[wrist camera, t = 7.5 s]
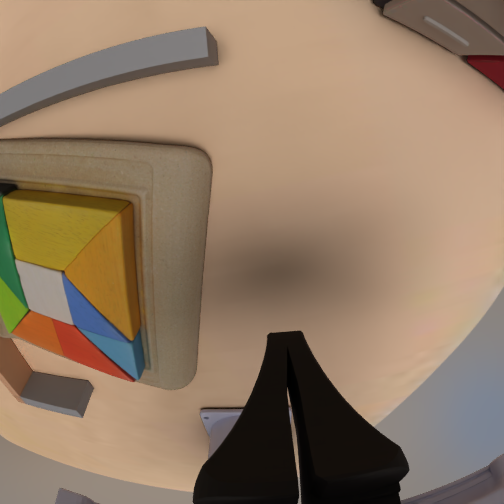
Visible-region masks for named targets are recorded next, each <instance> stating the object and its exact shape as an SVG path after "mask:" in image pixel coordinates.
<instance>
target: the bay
mask: <svg viewBox="0 0 504 504" xmlns="http://www.w3.org/2000/svg"><path fill="white" fill-rule="evenodd" d="M214 65H218V54H217V42H216V40H215V39H214V37H213V36H212V35H211V33H210V32H209V30H208V29H207V28H206V27H199V28H193V29H187V30H181V31H175V32H170V33H165V34H161V35H156V36H152V37H147V38H143V39H139V40H135V41H131V42H128V43H124V44H121V45H117V46H114V47H110V48H107V49H104V50H101V51H98V52H95V53H92V54H89V55H86V56H83V57H81V58H78V59H75V60H72V61H70V62H67V63H65V64H62V65H60V66H57V67H55V68H53V69H50V70H48V71H46V72H43V73H41V74H39V75H37V76H35V77H33V78H30V79H28V80H26V81H24V82H22V83H20V84H18V85H16V86H14V87H12V88H11V89H9V90H7V91H5V92H3V93H1V94H0V127H1V126H3V125H5V124H7V123H9V122H11V121H14V120H16V119H18V118H20V117H23V116H25V115H27V114H30V113H32V112H34V111H37V110H39V109H42V108H44V107H47V106H50V105H52V104H55V103H58V102H60V101H63V100H66V99H69V98H72V97H75V96H78V95H81V94H84V93H87V92H90V91H94V90H97V89H100V88H104V87H107V86H111V85H115V84H119V83H122V82H126V81H130V80H135V79H139V78H143V77H148V76H153V75H158V74H163V73H168V72H173V71H179V70H185V69H192V68H198V67H206V66H214ZM0 380H1V381H2V382H3V384H4V385H5V386H6V387H7V389H8V390H9V391H10V392H11V393H12V394H13V396H14V397H15V398H16V399H17V400H18V401H19V402H21V403H25V404H28V405H31V406H35V407H39V408H42V409H46V410H50V411H54V412H58V413H62V414H67V415H71V416H76V417H80V418H83V416H84V413H85V410H86V408H87V405H88V402H89V400H90V397H91V394H92V392H93V389H94V388H93V387H92V385H91V384H90V382H89V381H87V380H80V379H73V378H66V377H60V376H54V375H49V374H43V373H38V372H33V371H32V370H31V368H30V367H29V365H28V364H27V363H26V361H25V360H24V358H23V357H22V355H21V354H20V352H19V351H18V349H17V348H16V346H15V345H14V343H13V341H12V340H11V338H3V337H0Z"/></svg>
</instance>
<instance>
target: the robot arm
mask: <svg viewBox="0 0 504 504" xmlns="http://www.w3.org/2000/svg"><path fill="white" fill-rule="evenodd" d="M287 387H288V392H289V397H290V402H291V408H292V411H291V408H290V407H289V405H288V397H287ZM292 413H293V418H294V423H295V428H296V435H297V444H298V456H299V470H300V484H301V485H300V486H301V504H504V454H502V455H500V456H499V457H497V458H496V459H495V460H494V461H492V462H491V463H490V464H489V465H488V466H486V467H484V468H482V469H480V470H478V471H476V472H474V473H472V474H470V475H468V476H465V477H463V478H461V479H459V480H456V481H454V482H452V483H449V484H447V485H444V486H442V487H439V488H437V489H434V490H431V491H428V492H426V493H423V494H420V495H417V496H414V497H411V498H408V499H405V500H401V501H400V497H399V492H400V490H401V489H400V485H399V481H401V480H402V479H403V478H404V477H405V476H406V474H407V473H408V472H409V465H408V462H407V460H406V457H405V456H404V453H403V451H402V449H401V448H400V446H398V445H397V444H395V443H394V442H392V441H391V440H390V439H388V438H387V437H386V436H384V435H383V434H381V433H380V432H379V431H378V430H376V429H375V428H374V427H373V426H372V425H370V424H369V423H368V422H367V421H366V420H365V419H364V418H363V417H362V416H361V415H360V414H358V413H357V412H356V411H355V410H354V409H353V408H352V406H351V405H350V404H349V403H348V402H347V401H346V400H345V399H344V398H343V397H342V395H341V394H340V393H339V392H338V391H337V389H336V388H335V387H334V385H333V384H332V383H331V381H330V380H329V379H328V377H327V376H326V374H325V373H324V371H323V370H322V368H321V367H320V365H319V364H318V362H317V360H316V359H315V357H314V355H313V354H312V352H311V350H310V348H309V346H308V344H307V342H306V340H305V337H304V335H303V332H301V331H290V332H277V333H269V334H268V335H267V346H266V352H265V356H264V360H263V363H262V366H261V370H260V373H259V376H258V378H257V381H256V383H255V386H254V388H253V391H252V393H251V395H250V397H249V399H248V401H247V403H246V405H245V407H244V409H203V410H201V411H200V416H201V419H202V421H203V423H204V426H205V428H206V430H207V432H208V435H209V437H210V443H209V454H208V460H207V461H206V462H205V464H204V465H203V466H202V468H201V470H200V472H199V475H198V477H197V480H196V483H195V487H194V493H193V503H194V504H297V503H298V499H299V488H298V477H297V470H296V462H295V455H294V447H293V439H292V431H291V414H292ZM55 504H99V503H95V502H94V501H93V500H91V499H90V498H88V497H86V496H83V495H81V494H78V493H74V492H72V491H69V490H66V489H63V488H59V491H58V495H57V498H56V502H55Z"/></svg>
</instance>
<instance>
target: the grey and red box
mask: <svg viewBox="0 0 504 504" xmlns="http://www.w3.org/2000/svg"><path fill="white" fill-rule="evenodd" d="M373 2H374V3H375V4H376V5H377V6H379V7H381V8H383V9H384V10H383V14H384V15H385V16H387V17H389V18H391V19H393V20H395V21H398V22H400V23H402V24H404V25H406V26H408V27H410V28H411V29H413V30H415V31H417V32H419V33H421V34H423V35H424V36H426V37H428V38H430V39H432V40H433V41H435V42H437V43H438V44H440V45H442V46H443V47H445V48H447V49H448V50H450V51H451V52H453V53H455V54H457V55H467V56H468V58H467V62H468V63H470V64H471V65H472V66H474V67H475V68H477V69H478V70H479V71H481V72H482V73H483V74H485V75H486V76H487V77H489V78H490V79H491V80H493V81H494V82H495V83H496V84H498V85H499V86H500V87H501V88H503V89H504V0H373Z"/></svg>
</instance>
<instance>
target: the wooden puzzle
mask: <svg viewBox="0 0 504 504" xmlns="http://www.w3.org/2000/svg"><path fill="white" fill-rule="evenodd" d="M211 182H212V164H211V161H210V159H209V157H208V156H207V155H206V154H205V153H204V152H203V151H201V150H199V149H196V148H193V147H187V146H176V145H162V144H152V143H141V142H128V141H112V140H90V139H3V140H0V337H3V338H17V339H21V340H23V341H25V342H28V343H30V344H32V345H35V346H37V347H39V348H42V349H44V350H47V351H49V352H52V353H54V354H57V355H59V356H62V357H64V358H67V359H69V360H72V361H75V362H77V363H80V364H83V365H86V366H88V367H91V368H93V369H96V370H99V371H101V372H104V373H107V374H109V375H112V376H115V377H118V378H121V379H124V380H127V381H130V382H135V381H136V382H139V383H143V384H146V385H150V386H154V387H158V388H162V389H166V390H177V389H181V388H183V387H185V386H187V385H188V384H189V383H190V382H191V381H192V380H193V378H194V376H195V373H196V369H197V356H198V338H199V322H200V307H201V293H202V280H203V267H204V255H205V244H206V233H207V223H208V213H209V203H210V192H211Z"/></svg>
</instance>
